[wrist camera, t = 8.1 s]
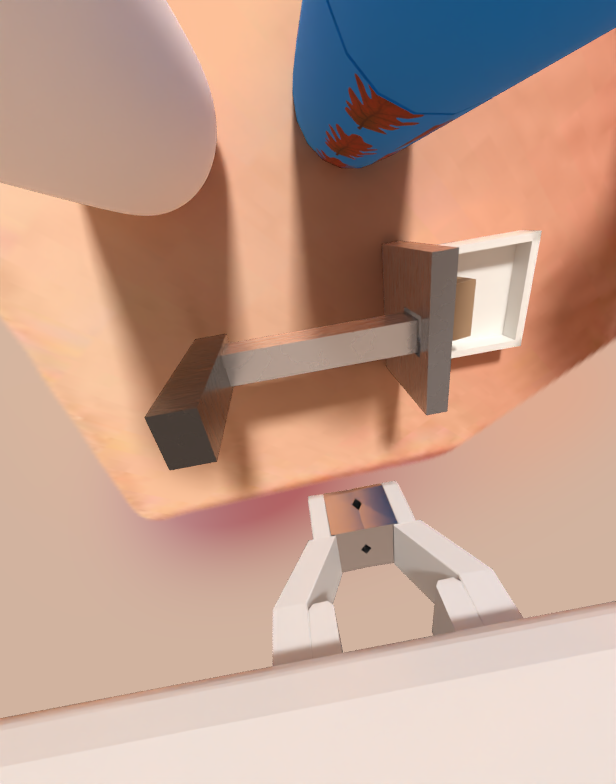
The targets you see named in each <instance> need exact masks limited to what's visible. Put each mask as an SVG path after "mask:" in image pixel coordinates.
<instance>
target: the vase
mask: <svg viewBox="0 0 616 784" xmlns="http://www.w3.org/2000/svg"><path fill="white" fill-rule="evenodd" d="M216 139H217V126H216V115H215V108H214V103H213V99H212V95H211V91H210V88H209V85H208V82H207V79H206V76H205V74H204V71H203V69H202V67H201V64H200V62H199V60H198V58H197V56H196V54H195V52H194V50H193V48H192V46H191V44H190V42H189V40H188V38H187V37H186V35H185V33H184V31H183V29H182V28H181V26H180V24H179V22H178V20H177V19H176V17H175V15H174V13H173V12H172V10H171V8H170V6H169V5H168V3H167V1H166V0H0V182H1V183H4V184H8V185H12V186H15V187H19V188H23V189H27V190H30V191H34V192H38V193H42V194H45V195H49V196H53V197H57V198H61V199H65V200H69V201H73V202H76V203H80V204H84V205H88V206H92V207H96V208H101V209H105V210H109V211H114V212H119V213H124V214H130V215H139V216H152V215H160V214H165V213H168V212H171V211H173V210H176V209H178V208H179V207H181V206H183V205H184V204H186V203H187V202H188V201H190V200H191V199H192V198H193V197H194V196H195V195H196V194H197V193H198V191H199V190H200V189H201V187H202V186H203V184H204V183H205V181H206V179H207V177H208V175H209V172H210V170H211V167H212V164H213V160H214V156H215V150H216Z"/></svg>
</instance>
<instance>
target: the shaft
mask: <svg viewBox="0 0 616 784" xmlns="http://www.w3.org/2000/svg"><path fill="white" fill-rule="evenodd" d="M418 335H419V320H418V319H416V318H415V317H413V316H412V315H410V314H409V313H407V312H400V313H395V314H389V315H384V316H378V317H372V318H367V319H361V320H356V321H350V322H345V323H339V324H333V325H328V326H322V327H317V328H311V329H305V330H300V331H294V332H289V333H283V334H278V335H272V336H266V337H261V338H255V339H250V340H244V341H238V342H233V343H229V341H228V337H227V334H222V335H216V336H211V337H205V338H199V339H195V341H194V342H193V344H192V345H191V347H190V348H189V350H188V351H187V353H186V354H185V356H184V357H183V359H182V361H181V362H180V364H179V365H178V367H177V368H176V370H175V371H174V373H173V374H172V376H171V377H170V379H169V381H168V382H167V384H166V385H165V387H164V388H163V390H162V391H161V393H160V394H159V396H158V397H157V399H156V400H155V402H154V404H153V405H152V407H151V408H150V410H149V411H148V413H147V414H146V416H145V417H144V418H145V420H146V422H147V424H148V426H149V428H150V430H151V432H152V434H153V437H154V439H155V441H156V443H157V445H158V447H159V449H160V451H161V453H162V455H163V458H164V460H165V462H166V464H167V466H168V468H169V470H174V469H180V468H185V467H190V466H196V465H201V464H206V463H212V462H217V459H218V455H219V450H220V446H221V441H222V437H223V432H224V428H225V423H226V419H227V414H228V410H229V405H230V401H231V396H232V392H233V387H234V386H238V385H243V384H249V383H254V382H260V381H265V380H271V379H276V378H282V377H287V376H293V375H298V374H304V373H309V372H315V371H320V370H325V369H331V368H336V367H342V366H347V365H353V364H358V363H364V362H369V361H375V360H380V359H386V358H391V357H397V356H402V355H408V354H413V353H418Z"/></svg>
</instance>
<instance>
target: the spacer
mask: <svg viewBox="0 0 616 784" xmlns="http://www.w3.org/2000/svg"><path fill="white" fill-rule="evenodd" d="M475 287H476V279H472V278H465V277H458V276H457V284H456V298H455V312H454V326H453V340H452V341H455V340H458V339H462V338H465V337H469V336H471V327H472V317H473V307H474V297H475Z"/></svg>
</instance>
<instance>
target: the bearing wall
mask: <svg viewBox="0 0 616 784" xmlns="http://www.w3.org/2000/svg"><path fill="white" fill-rule="evenodd" d="M458 257H459V247H450V246H442V245H433V244H425V243H416V242H407V241H396V242H390V243H385V244H382V264H383V293H384V315H389V314H395V313H400V312H407V313H409V314H410V315H412V316H413V317H415V318H416V319H418V320H419V335H418V353H413V354H408V355H402V356H397V357H391V358H386V367H387V368H388V370H389V371H390V372H391V373H392V374H393V376H394V377H395V378H396V379H397V380H398V382H399V383H400V384H401V385H402V386H403V388H404V389H405V390H406V391H407V393H408V394H409V395H410V396H411V397H412V399H413V400H414V401H415V402H416V403H417V405H418V406H419V407H420V408H421V409H422V411H423V412H424V413H425V414H426V415H430V414H436V413H441V412H446V411H447V408H448V395H449V381H450V367H451V353H452V340H453V326H454V312H455V298H456V284H457V271H458Z"/></svg>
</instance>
